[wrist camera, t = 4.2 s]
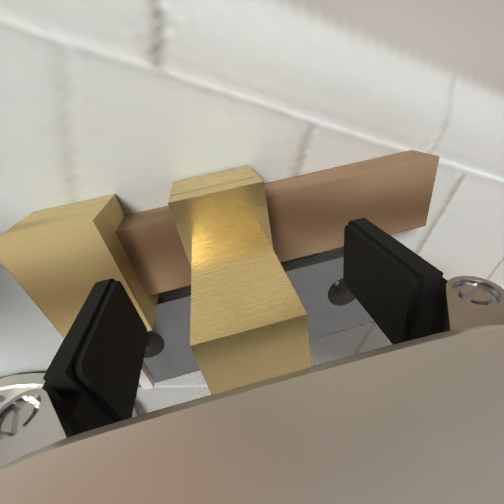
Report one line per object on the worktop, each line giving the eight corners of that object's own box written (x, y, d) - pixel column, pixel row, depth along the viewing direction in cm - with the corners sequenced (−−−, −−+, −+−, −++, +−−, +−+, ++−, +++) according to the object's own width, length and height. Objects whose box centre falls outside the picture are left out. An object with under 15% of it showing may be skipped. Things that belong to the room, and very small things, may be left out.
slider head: (275, 317, 19) (330, 463, 12) (223, 331, 19) (242, 491, 11) (249, 165, 14) (324, 252, 6) (173, 182, 13) (142, 299, 5)
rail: (392, 283, 20) (424, 314, 17) (120, 356, 19) (107, 403, 16) (415, 127, 14) (470, 134, 11) (23, 214, 13) (-27, 247, 10)
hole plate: (371, 311, 21) (379, 321, 21) (128, 378, 20) (125, 392, 19) (379, 238, 18) (389, 245, 17) (81, 313, 16) (75, 326, 15)
